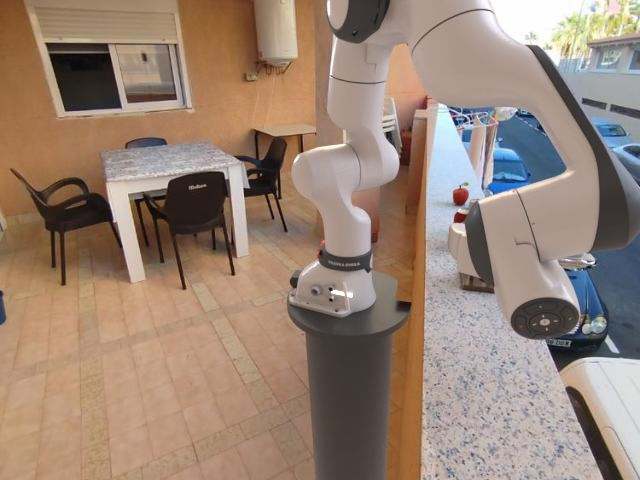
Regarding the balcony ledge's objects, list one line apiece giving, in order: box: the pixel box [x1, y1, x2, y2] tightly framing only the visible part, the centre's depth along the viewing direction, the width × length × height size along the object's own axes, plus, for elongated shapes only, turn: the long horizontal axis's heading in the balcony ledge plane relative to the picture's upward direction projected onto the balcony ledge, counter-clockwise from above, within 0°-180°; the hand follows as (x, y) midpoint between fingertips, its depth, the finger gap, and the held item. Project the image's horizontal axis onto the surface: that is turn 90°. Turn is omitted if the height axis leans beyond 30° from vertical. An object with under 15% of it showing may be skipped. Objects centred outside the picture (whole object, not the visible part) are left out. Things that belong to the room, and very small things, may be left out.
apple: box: [452, 181, 470, 206], centre depth 151 cm, size 8×7×10 cm
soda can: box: [452, 207, 470, 224], centre depth 114 cm, size 7×7×12 cm
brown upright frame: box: [460, 272, 495, 294], centre depth 94 cm, size 10×8×15 cm
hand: (505, 225), depth 68 cm, fingers open, 8 cm apart
